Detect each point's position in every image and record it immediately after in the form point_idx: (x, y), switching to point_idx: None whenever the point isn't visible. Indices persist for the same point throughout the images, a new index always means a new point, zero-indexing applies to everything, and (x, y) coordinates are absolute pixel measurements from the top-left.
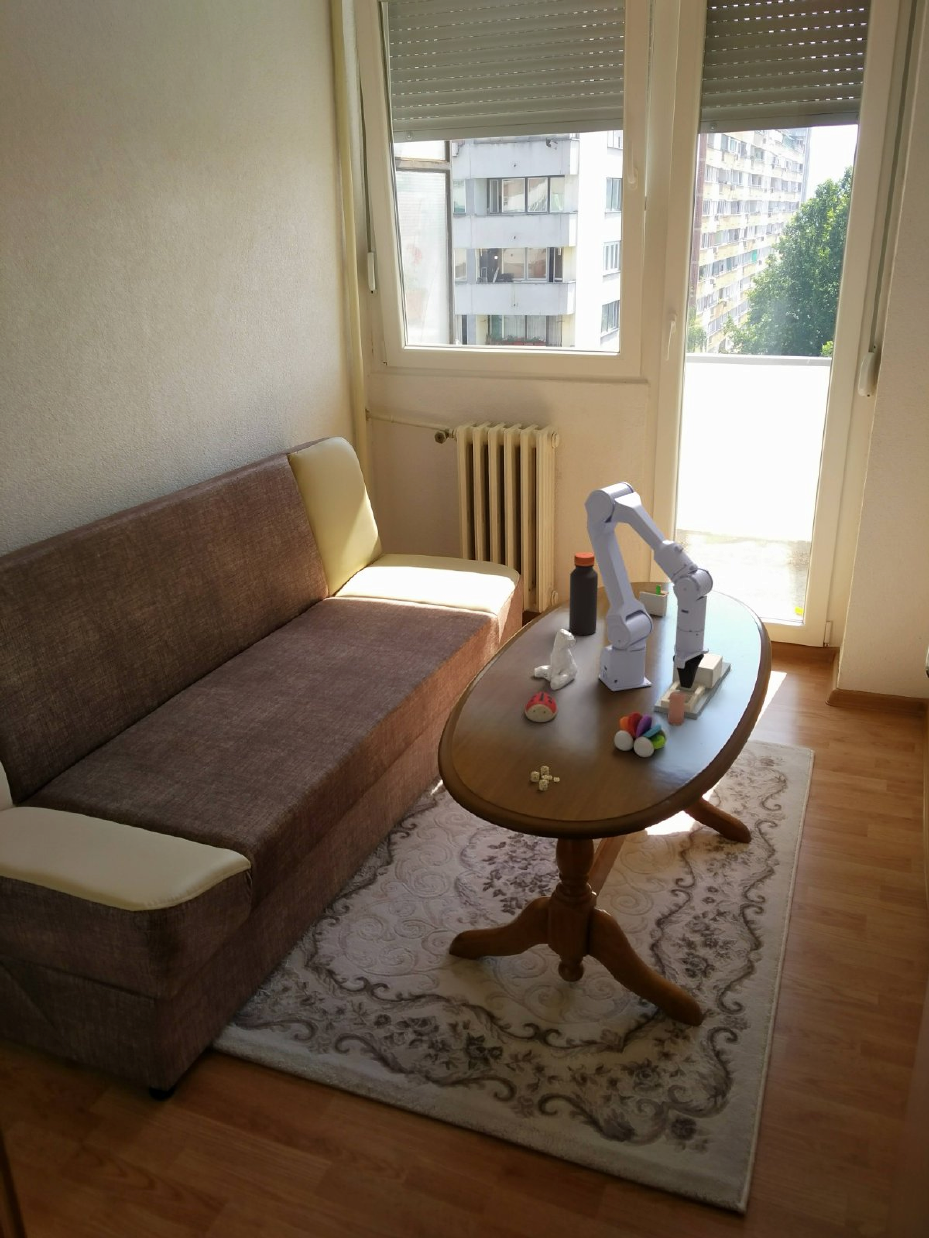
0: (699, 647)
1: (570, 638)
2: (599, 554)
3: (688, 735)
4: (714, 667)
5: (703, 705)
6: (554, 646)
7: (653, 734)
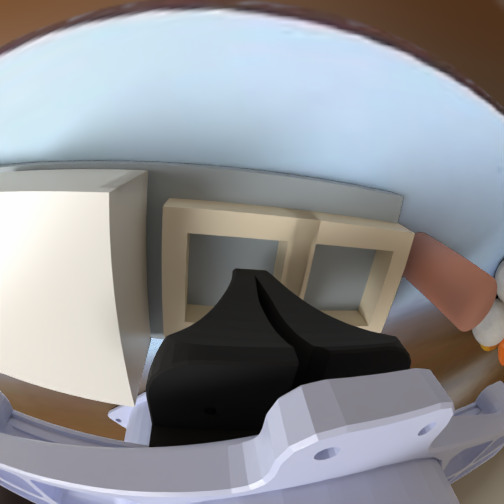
0: (446, 496)
1: None
2: None
3: (475, 205)
4: (72, 191)
5: (309, 178)
6: None
7: None
